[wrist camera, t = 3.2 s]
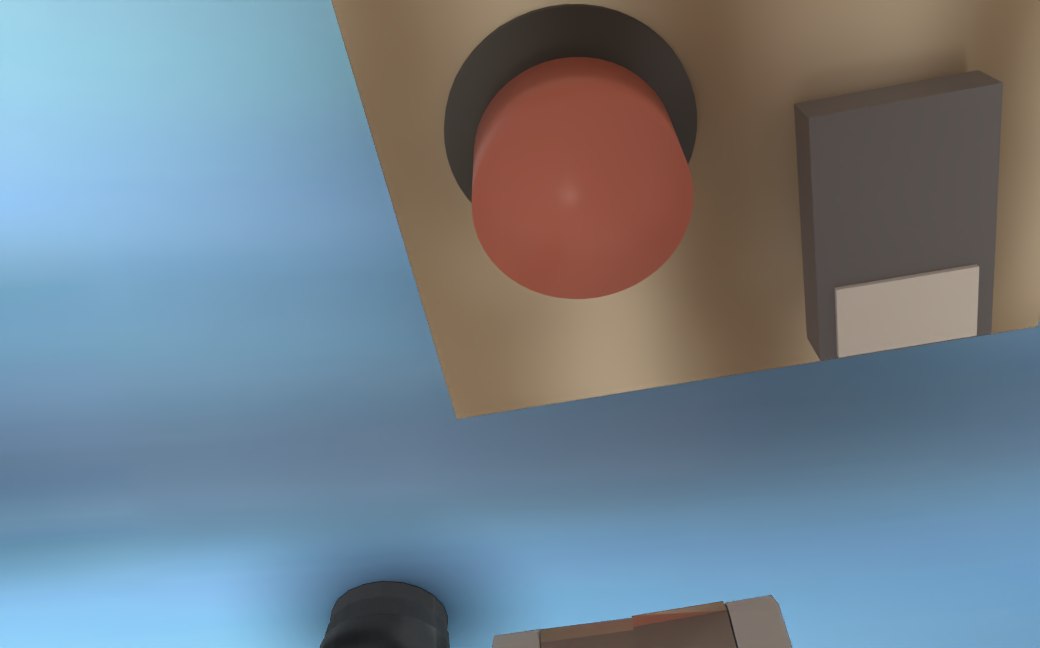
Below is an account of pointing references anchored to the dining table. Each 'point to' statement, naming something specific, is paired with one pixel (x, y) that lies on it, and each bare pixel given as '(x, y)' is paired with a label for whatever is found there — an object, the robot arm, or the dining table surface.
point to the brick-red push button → (579, 179)
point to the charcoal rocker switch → (899, 213)
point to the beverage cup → (387, 618)
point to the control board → (710, 157)
